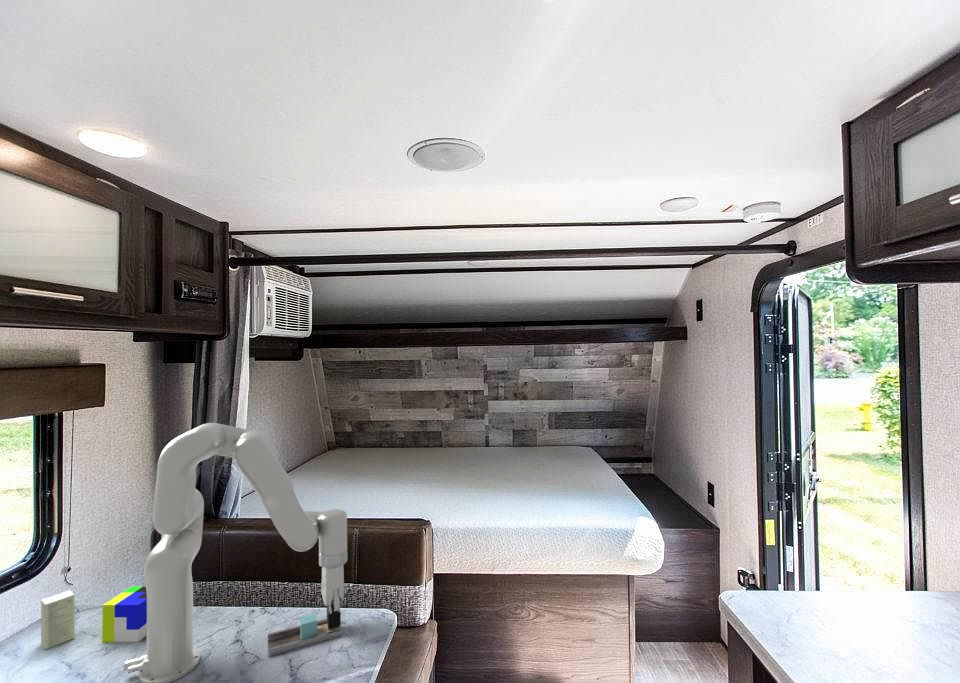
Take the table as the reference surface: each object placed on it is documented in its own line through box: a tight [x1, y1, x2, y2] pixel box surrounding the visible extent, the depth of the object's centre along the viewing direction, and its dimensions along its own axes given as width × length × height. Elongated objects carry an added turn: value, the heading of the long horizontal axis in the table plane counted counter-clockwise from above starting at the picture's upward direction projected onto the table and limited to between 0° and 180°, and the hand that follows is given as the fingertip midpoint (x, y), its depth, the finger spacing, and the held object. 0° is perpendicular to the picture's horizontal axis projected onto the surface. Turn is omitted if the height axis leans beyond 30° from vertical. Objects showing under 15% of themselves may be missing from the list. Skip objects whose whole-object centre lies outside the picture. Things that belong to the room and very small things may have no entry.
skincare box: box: [40, 589, 75, 650], centre depth 124 cm, size 6×4×12 cm
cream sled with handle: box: [299, 607, 341, 637], centre depth 124 cm, size 10×6×6 cm, turn 116°
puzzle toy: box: [101, 586, 147, 643], centre depth 128 cm, size 10×10×10 cm
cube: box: [299, 612, 318, 639], centre depth 122 cm, size 4×4×4 cm
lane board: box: [267, 618, 343, 658], centre depth 122 cm, size 18×8×2 cm, turn 116°
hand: (333, 623), depth 125 cm, fingers closed on cream sled with handle, 2 cm apart
